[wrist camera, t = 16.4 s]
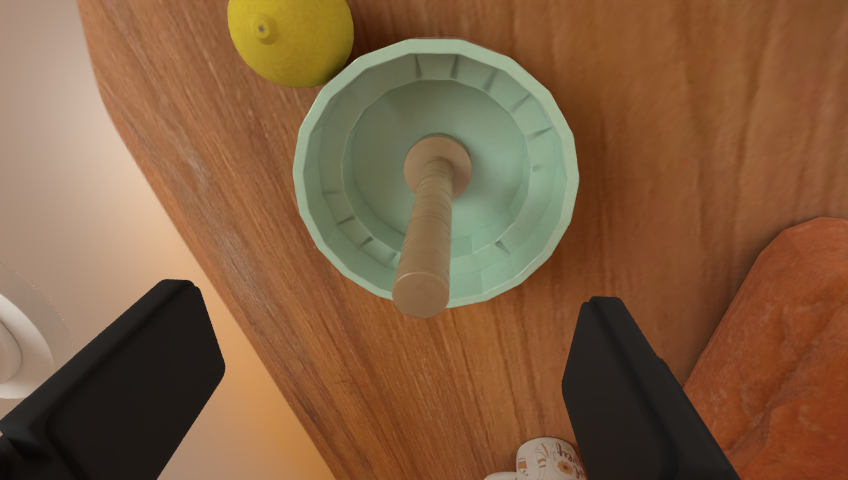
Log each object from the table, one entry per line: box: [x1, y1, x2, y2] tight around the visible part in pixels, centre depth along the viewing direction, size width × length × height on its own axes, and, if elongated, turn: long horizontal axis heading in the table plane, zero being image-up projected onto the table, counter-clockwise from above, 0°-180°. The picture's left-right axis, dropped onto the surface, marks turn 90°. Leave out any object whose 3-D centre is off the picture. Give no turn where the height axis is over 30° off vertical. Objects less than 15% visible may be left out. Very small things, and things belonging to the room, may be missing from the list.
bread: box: [682, 216, 848, 480], centre depth 28 cm, size 16×27×11 cm, turn 177°
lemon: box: [227, 0, 354, 88], centre depth 19 cm, size 6×6×8 cm
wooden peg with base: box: [392, 133, 472, 318], centre depth 19 cm, size 4×4×14 cm
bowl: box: [293, 36, 579, 308], centre depth 23 cm, size 15×15×6 cm
